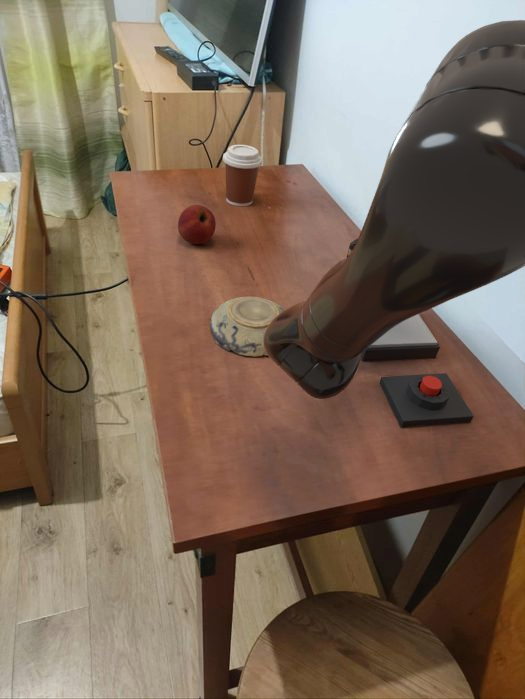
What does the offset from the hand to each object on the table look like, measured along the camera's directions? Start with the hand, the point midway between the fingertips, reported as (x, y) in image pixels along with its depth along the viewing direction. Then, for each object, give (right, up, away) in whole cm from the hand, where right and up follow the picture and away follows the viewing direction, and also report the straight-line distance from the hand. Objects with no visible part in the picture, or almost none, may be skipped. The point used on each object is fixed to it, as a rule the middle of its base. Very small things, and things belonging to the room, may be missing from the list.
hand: (416, 242), depth 77 cm
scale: (-2, -14, +11) cm, 18 cm away
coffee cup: (-29, +20, +46) cm, 57 cm away
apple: (-37, +6, +28) cm, 47 cm away
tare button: (+1, -22, -3) cm, 22 cm away
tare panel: (+1, -24, -1) cm, 24 cm away
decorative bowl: (-25, -13, +9) cm, 29 cm away
